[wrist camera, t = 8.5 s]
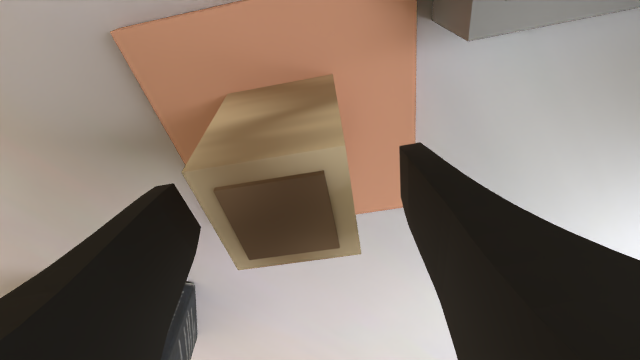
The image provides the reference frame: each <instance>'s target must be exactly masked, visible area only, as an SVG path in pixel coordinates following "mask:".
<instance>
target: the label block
mask: <svg viewBox="0 0 640 360" xmlns="http://www.w3.org/2000/svg"><path fill="white" fill-rule="evenodd" d="M182 174H183V176H184V178H185V179H186V181H187V183H188V184H189V186H190V188H191V190H192V191H193V193H194V195H195V197H196V198H197V200H198V202H199V203H200V205H201V207H202V209H203V210H204V212H205V214H206V216H207V217H208V219H209V221H210V222H211V224H212V226H213V228H214V229H215V231H216V233H217V235H218V236H219V238H220V240H221V242H222V243H223V245H224V247H225V248H226V250H227V252H228V254H229V255H230V257H231V259H232V261H233V262H234V264H235V266H236V267H237V269H238V270H244V269H252V268H259V267H267V266H274V265H282V264H290V263H297V262H305V261H312V260H320V259H328V258H335V257H343V256H350V255H358V254H361V249H360V242H359V235H358V229H357V222H356V215H355V208H354V201H353V195H352V188H351V181H350V174H349V167H348V160H347V154H346V147H345V141H344V135H343V129H342V124H341V118H340V112H339V107H338V101H337V95H336V89H335V84H334V78H333V74H330V75H325V76H320V77H314V78H309V79H304V80H298V81H293V82H288V83H282V84H277V85H272V86H266V87H261V88H256V89H250V90H245V91H240V92H234V93H229V94H227V96H226V97H225V99H224V101H223V102H222V104H221V106H220V108H219V109H218V111H217V113H216V114H215V116H214V118H213V120H212V121H211V123H210V125H209V126H208V128H207V130H206V131H205V133H204V135H203V137H202V138H201V140H200V142H199V143H198V145H197V147H196V149H195V150H194V152H193V154H192V155H191V157H190V159H189V160H188V162H187V164H186V166H185V167H184V169H183V171H182Z"/></svg>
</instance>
